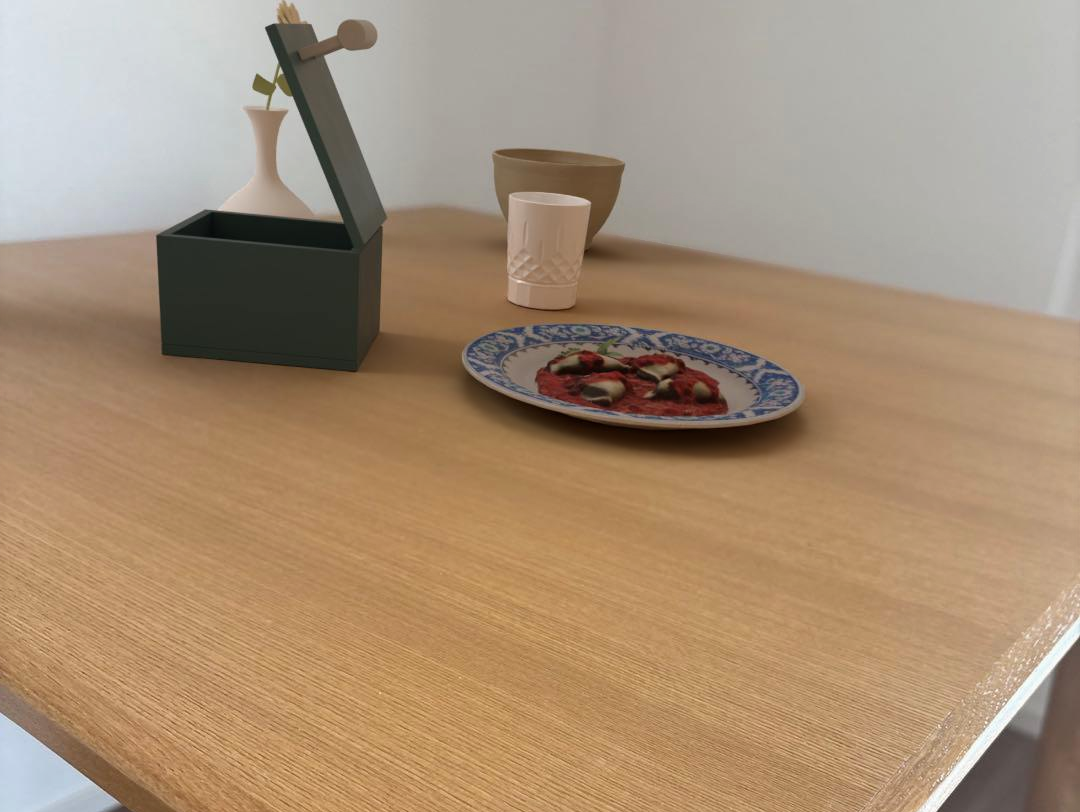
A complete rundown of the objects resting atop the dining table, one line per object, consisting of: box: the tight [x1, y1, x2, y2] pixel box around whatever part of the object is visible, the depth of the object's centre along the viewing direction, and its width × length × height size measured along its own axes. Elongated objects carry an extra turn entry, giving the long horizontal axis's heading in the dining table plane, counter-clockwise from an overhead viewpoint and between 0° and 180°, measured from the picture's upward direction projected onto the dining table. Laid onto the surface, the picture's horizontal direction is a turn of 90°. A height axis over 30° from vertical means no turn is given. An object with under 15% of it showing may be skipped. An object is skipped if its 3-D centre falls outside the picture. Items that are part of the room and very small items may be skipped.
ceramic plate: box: [461, 323, 807, 431], centre depth 85 cm, size 26×26×3 cm
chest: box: [155, 208, 384, 372], centre depth 89 cm, size 15×13×9 cm
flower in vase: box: [217, 0, 317, 220], centre depth 128 cm, size 13×11×25 cm
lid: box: [264, 18, 388, 248], centre depth 84 cm, size 15×13×6 cm
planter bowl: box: [491, 147, 626, 251], centre depth 139 cm, size 16×16×11 cm
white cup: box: [506, 192, 591, 311], centre depth 110 cm, size 8×8×10 cm
